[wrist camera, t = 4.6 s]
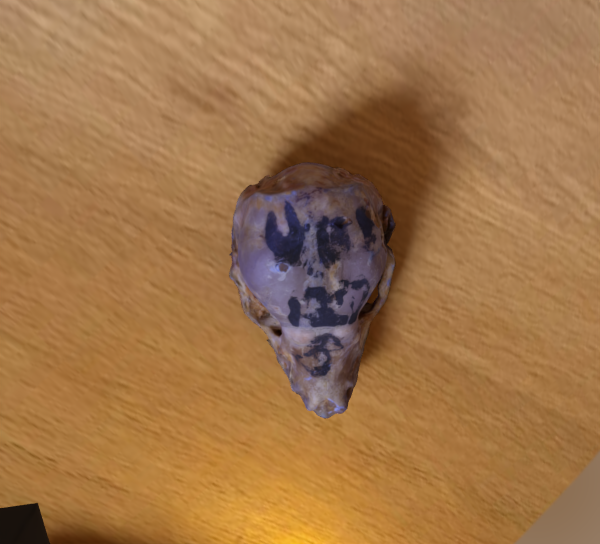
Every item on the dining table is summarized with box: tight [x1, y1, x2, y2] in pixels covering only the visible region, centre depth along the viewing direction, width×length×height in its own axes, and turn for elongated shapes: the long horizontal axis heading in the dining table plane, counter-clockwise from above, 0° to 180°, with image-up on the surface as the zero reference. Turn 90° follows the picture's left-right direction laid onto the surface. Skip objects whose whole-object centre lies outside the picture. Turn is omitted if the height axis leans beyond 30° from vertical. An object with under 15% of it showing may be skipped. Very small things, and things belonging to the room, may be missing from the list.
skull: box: [229, 162, 395, 418], centre depth 24 cm, size 12×8×6 cm, turn 177°
